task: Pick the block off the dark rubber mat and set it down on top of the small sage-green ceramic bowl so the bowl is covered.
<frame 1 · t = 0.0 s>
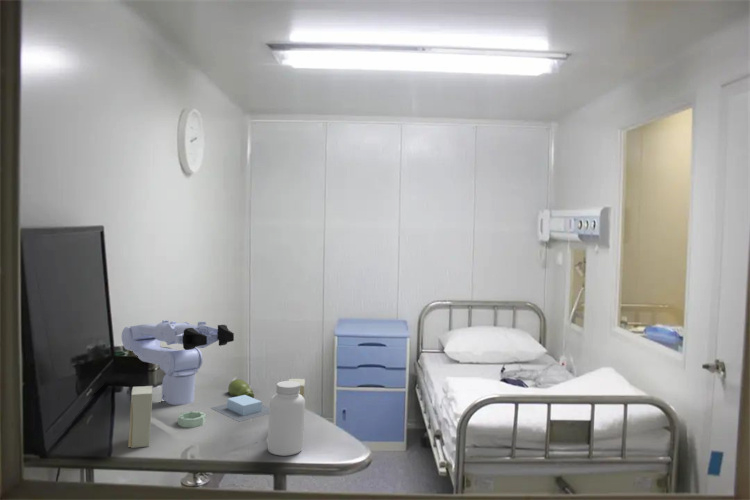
hand: (219, 338, 125), 22 cm above the table, tool horizontal, fingers open, 7 cm apart
pear: (241, 399, 146), on the table
bowl: (191, 427, 121), on the table
skincare box 2: (294, 430, 123), on the table
block: (243, 409, 132), point 1 cm above the table, touching mat
mat: (243, 414, 132), on the table
skincare box: (139, 443, 111), on the table
pill bottle: (285, 450, 111), on the table
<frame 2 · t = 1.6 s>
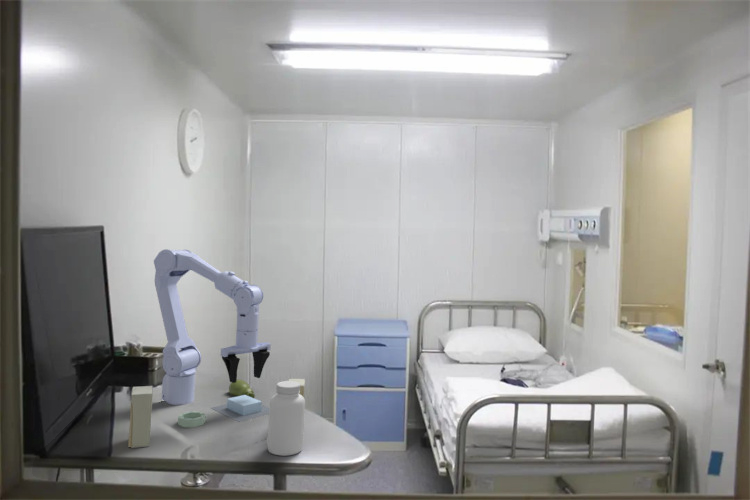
hand: (245, 379, 132), 9 cm above the table, tool pointing down, fingers open, 7 cm apart
nothing on the table moved.
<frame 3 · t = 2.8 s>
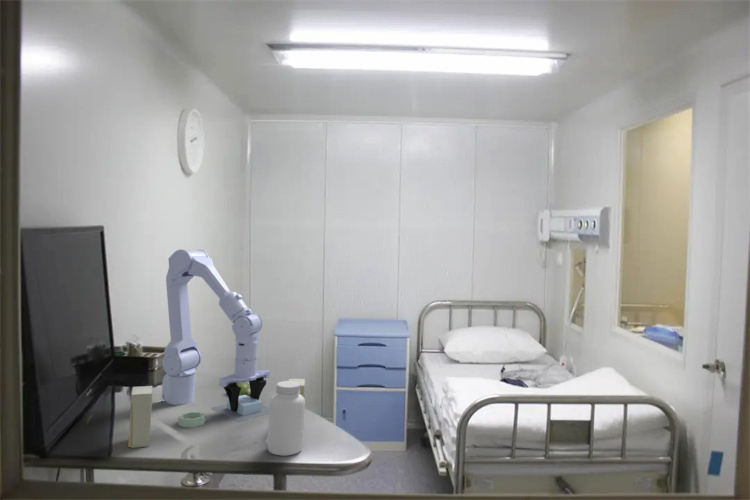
hand: (244, 408, 132), 2 cm above the table, tool pointing down, fingers closed on block, 6 cm apart
block: (243, 409, 132), point 1 cm above the table, touching gripper, mat
everything else where it was.
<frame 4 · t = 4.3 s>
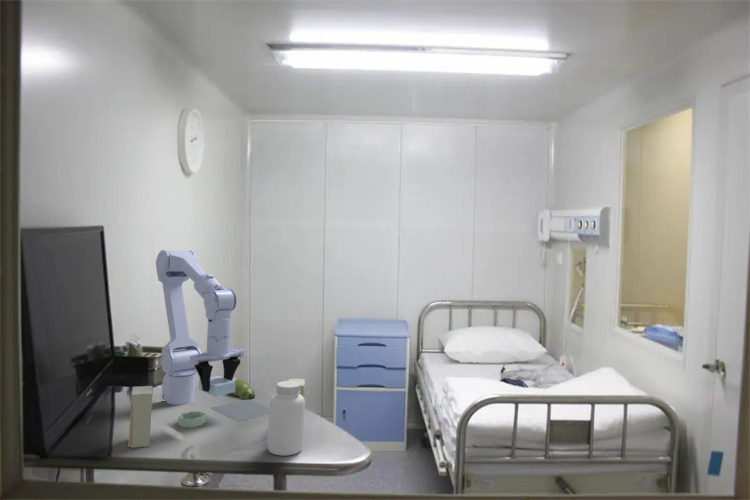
hand: (216, 388, 126), 9 cm above the table, tool pointing down, fingers closed on block, 6 cm apart
block: (217, 390, 126), point 8 cm above the table, touching gripper
everything else where it was.
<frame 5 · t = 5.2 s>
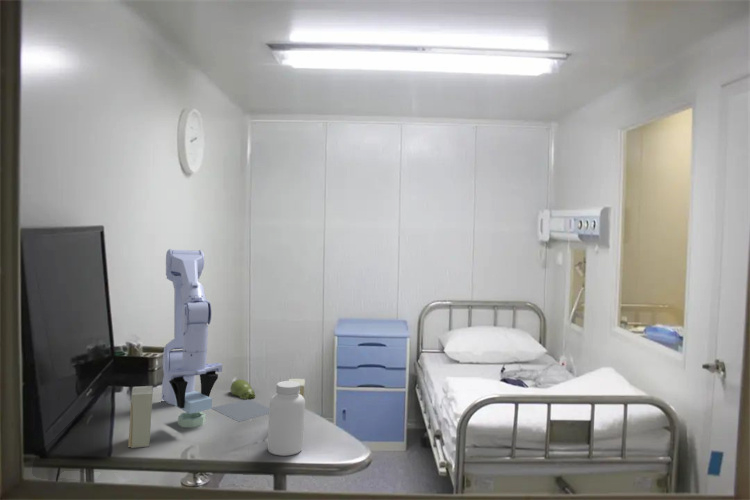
hand: (192, 404, 121), 6 cm above the table, tool pointing down, fingers closed on block, 6 cm apart
block: (193, 407, 121), point 5 cm above the table, touching gripper
everything else where it was.
when the fingers open (4 cm above the table, at t = 6.0 s): block stays where it is, resting on bowl.
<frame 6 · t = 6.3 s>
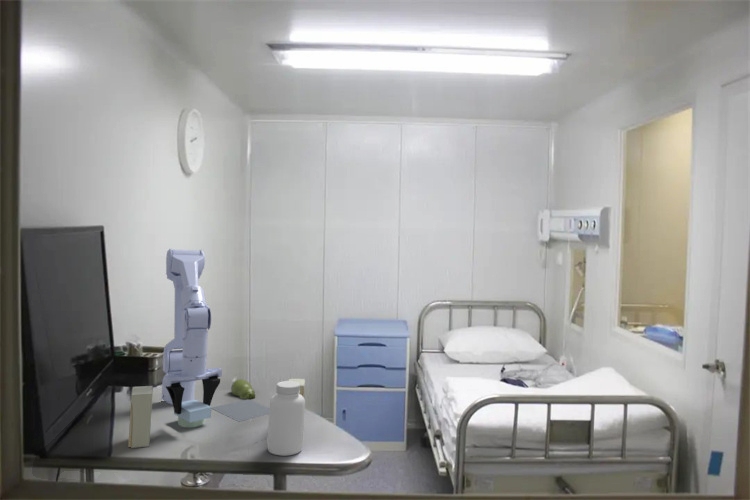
hand: (192, 409, 121), 4 cm above the table, tool pointing down, fingers open, 7 cm apart
block: (192, 415, 121), point 3 cm above the table, touching bowl
everything else where it was.
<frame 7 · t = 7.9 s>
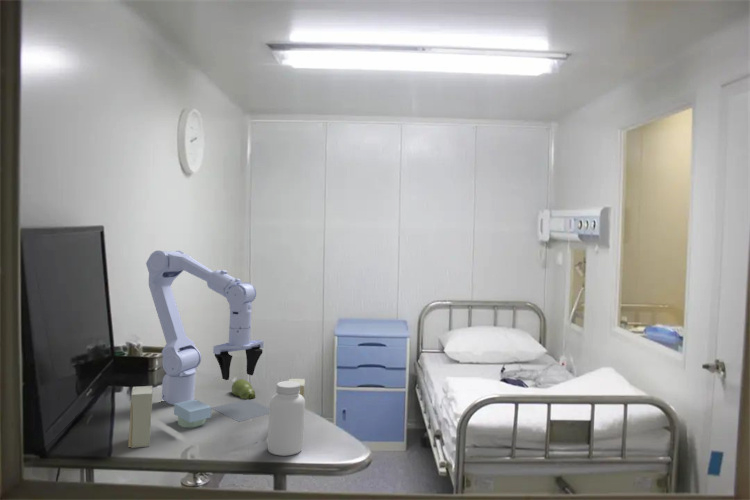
hand: (238, 376, 133), 10 cm above the table, tool pointing down, fingers open, 7 cm apart
nothing on the table moved.
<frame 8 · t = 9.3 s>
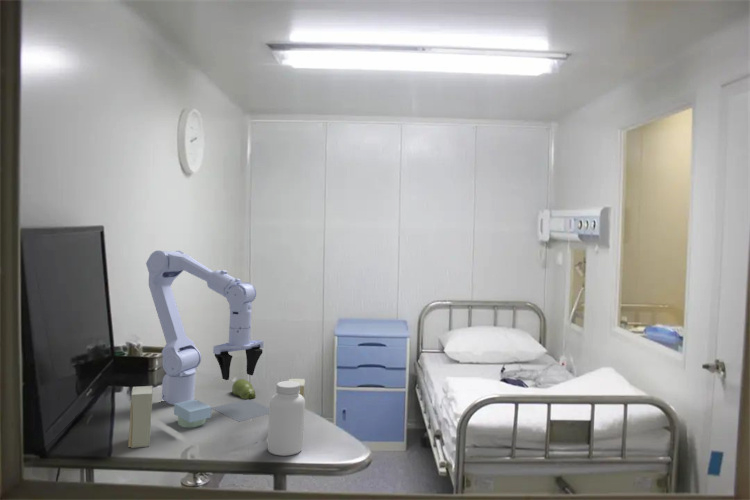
hand: (238, 376, 133), 10 cm above the table, tool pointing down, fingers open, 7 cm apart
nothing on the table moved.
at the end: block 0.2 cm off-centre on the bowl, point 3.0 cm above the bowl's base; block tilted 0°; the gripper is holding nothing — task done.
